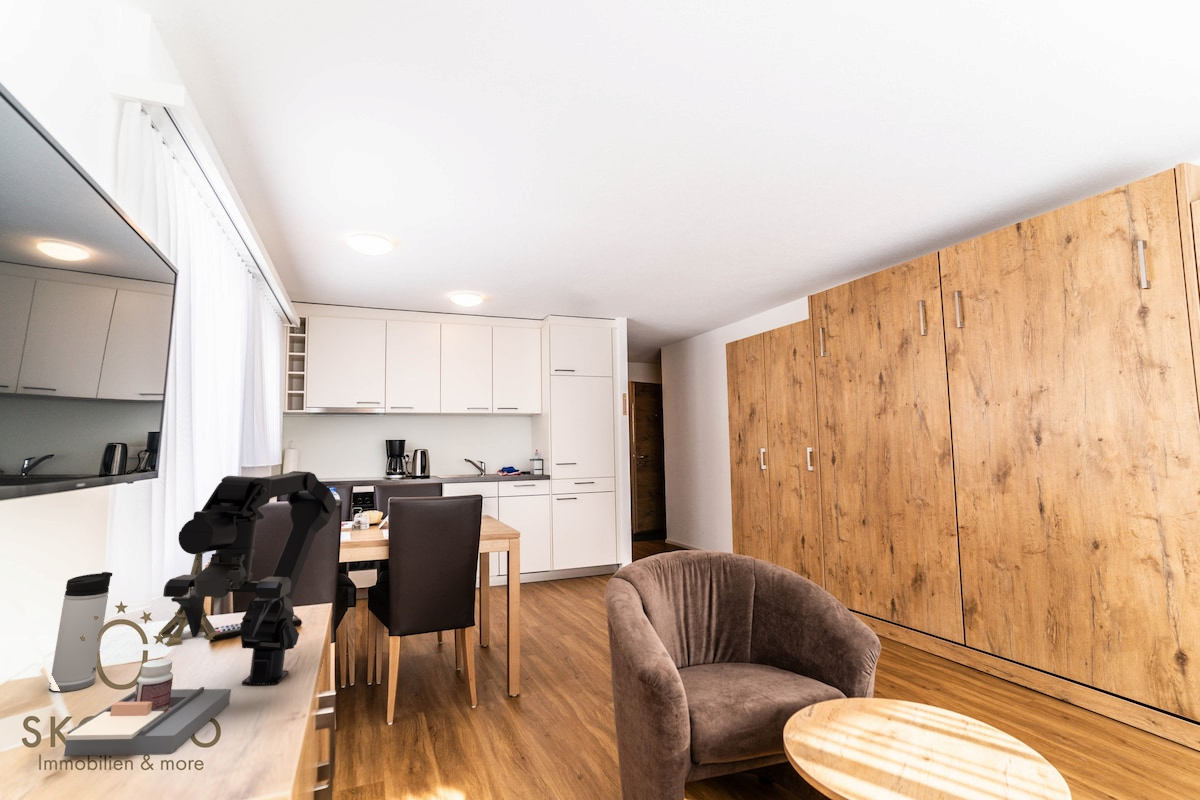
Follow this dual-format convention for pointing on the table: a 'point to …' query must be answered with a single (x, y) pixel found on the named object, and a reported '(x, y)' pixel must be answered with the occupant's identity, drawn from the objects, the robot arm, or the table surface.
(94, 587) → the travel mug
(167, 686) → the pill bottle
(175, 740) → the board
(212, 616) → the table surface
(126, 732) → the cover
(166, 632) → the eiffel tower
